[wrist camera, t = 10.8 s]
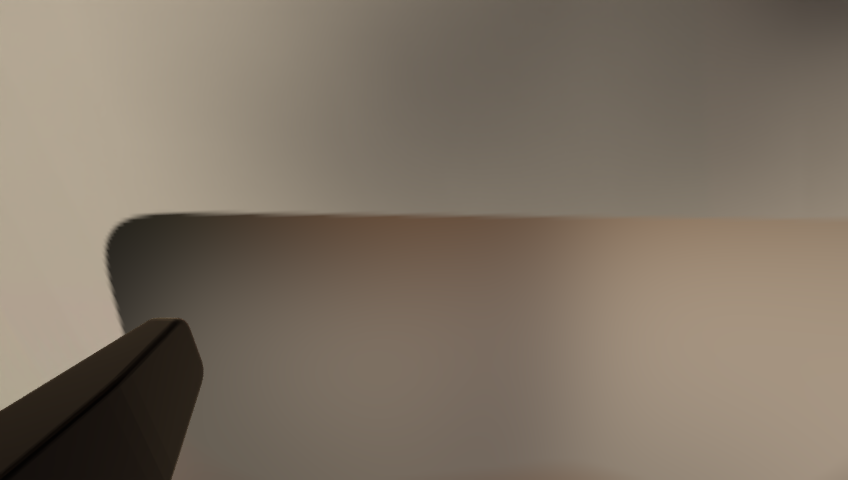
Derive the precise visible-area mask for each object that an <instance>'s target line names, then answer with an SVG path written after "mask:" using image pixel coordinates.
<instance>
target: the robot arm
mask: <svg viewBox="0 0 848 480" xmlns="http://www.w3.org/2000/svg"><path fill="white" fill-rule="evenodd" d="M202 380H203V364H202V360H201V357H200V354H199V352H198V349H197V346H196V344H195V341H194V338H193V335H192V332H191V330H190V327H189V325H188V323H187V322H186V321H185V320H183V319H181V318H153V319H150V320H148V321H146V322H145V323H143V324H142V325H140V326H139V327H137V328H135V329H133V330H132V331H130V332H129V333H127V334H125V335H124V336H122V337H120V338H119V339H117V340H115V341H114V342H112V343H111V344H109V345H107V346H106V347H104V348H102V349H101V350H99V351H97V352H96V353H94V354H93V355H91V356H89V357H88V358H86V359H84V360H83V361H81V362H79V363H78V364H76V365H75V366H73V367H71V368H70V369H68V370H66V371H65V372H63V373H62V374H60V375H58V376H57V377H55V378H53V379H52V380H50V381H48V382H47V383H45V384H44V385H42V386H40V387H39V388H37V389H35V390H34V391H32V392H31V393H29V394H27V395H26V396H24V397H22V398H21V399H19V400H17V401H16V402H14V403H13V404H11V405H9V406H8V407H6V408H4V409H3V410H1V411H0V480H171V479H172V476H173V473H174V470H175V467H176V464H177V461H178V457H179V454H180V451H181V448H182V445H183V441H184V438H185V435H186V432H187V429H188V425H189V422H190V419H191V416H192V413H193V409H194V407H195V403H196V400H197V397H198V394H199V391H200V387H201V384H202Z"/></svg>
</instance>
